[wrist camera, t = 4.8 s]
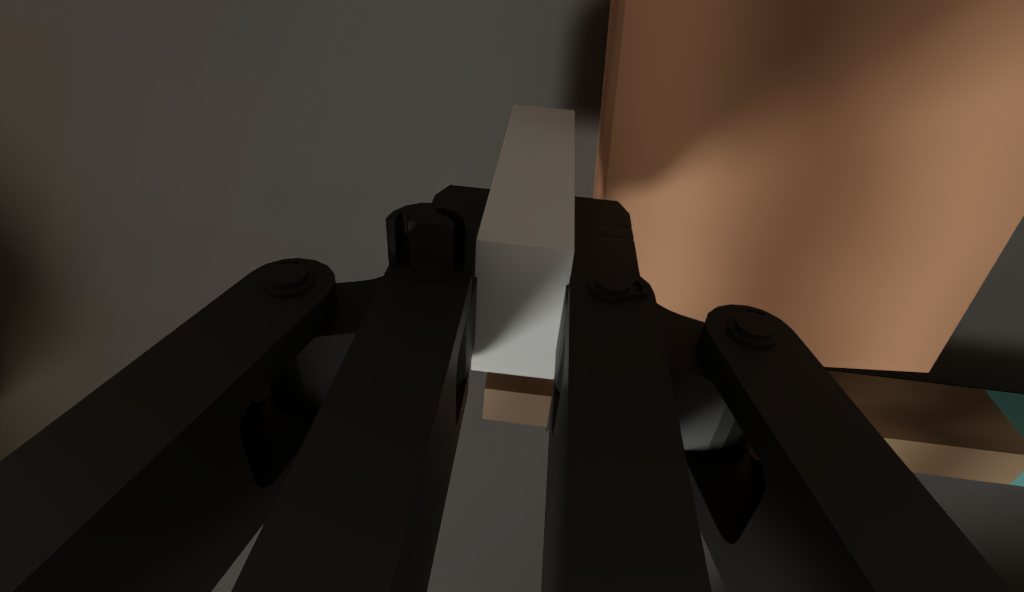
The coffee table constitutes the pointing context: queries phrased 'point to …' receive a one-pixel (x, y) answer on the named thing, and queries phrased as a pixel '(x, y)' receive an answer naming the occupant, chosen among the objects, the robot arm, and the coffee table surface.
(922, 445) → the lane walls
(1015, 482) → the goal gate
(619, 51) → the wooden block
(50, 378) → the coffee table surface
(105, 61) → the coffee table surface
